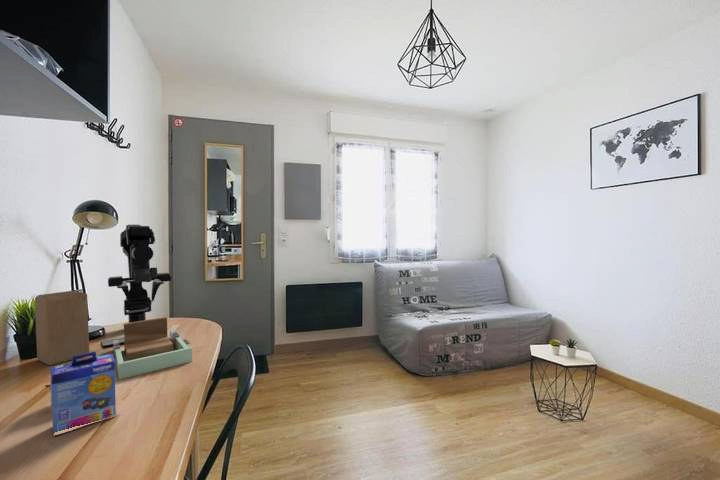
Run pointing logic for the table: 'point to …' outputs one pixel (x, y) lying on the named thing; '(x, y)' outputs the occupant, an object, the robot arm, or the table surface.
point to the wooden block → (61, 326)
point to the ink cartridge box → (83, 391)
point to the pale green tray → (153, 358)
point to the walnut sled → (146, 338)
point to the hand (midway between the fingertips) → (141, 302)
